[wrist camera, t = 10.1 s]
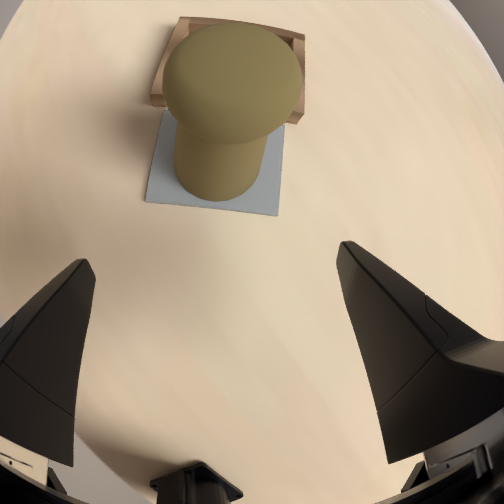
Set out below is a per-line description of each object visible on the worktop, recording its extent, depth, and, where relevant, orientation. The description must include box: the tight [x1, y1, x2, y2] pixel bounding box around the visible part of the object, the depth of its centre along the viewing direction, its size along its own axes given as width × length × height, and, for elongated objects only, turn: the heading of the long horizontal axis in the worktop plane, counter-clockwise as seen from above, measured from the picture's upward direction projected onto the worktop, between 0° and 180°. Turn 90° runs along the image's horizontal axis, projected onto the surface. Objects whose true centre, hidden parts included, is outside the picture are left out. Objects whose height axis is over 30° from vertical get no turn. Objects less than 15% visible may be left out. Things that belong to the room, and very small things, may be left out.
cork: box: [162, 23, 303, 202], centre depth 12 cm, size 6×6×11 cm
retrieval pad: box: [145, 110, 285, 216], centre depth 18 cm, size 7×9×1 cm
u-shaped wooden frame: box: [150, 17, 305, 124], centre depth 17 cm, size 9×11×2 cm
